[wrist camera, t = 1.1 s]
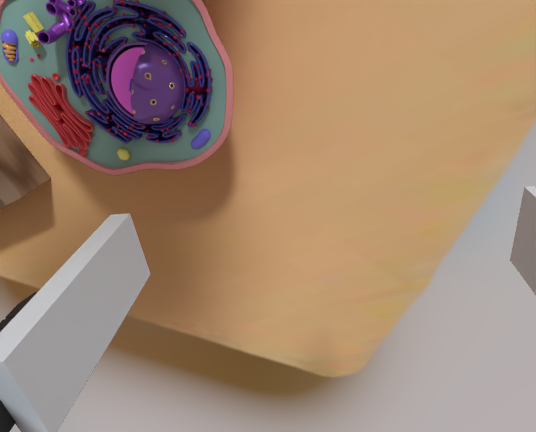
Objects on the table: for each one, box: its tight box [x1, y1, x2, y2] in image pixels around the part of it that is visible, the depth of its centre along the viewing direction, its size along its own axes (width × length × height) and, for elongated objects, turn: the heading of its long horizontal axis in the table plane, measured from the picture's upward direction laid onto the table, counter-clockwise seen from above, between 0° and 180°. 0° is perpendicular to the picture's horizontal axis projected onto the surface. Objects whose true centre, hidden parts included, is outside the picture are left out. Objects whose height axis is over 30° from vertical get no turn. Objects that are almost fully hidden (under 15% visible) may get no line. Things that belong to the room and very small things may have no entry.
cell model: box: [0, 0, 233, 175], centre depth 33 cm, size 17×20×11 cm
